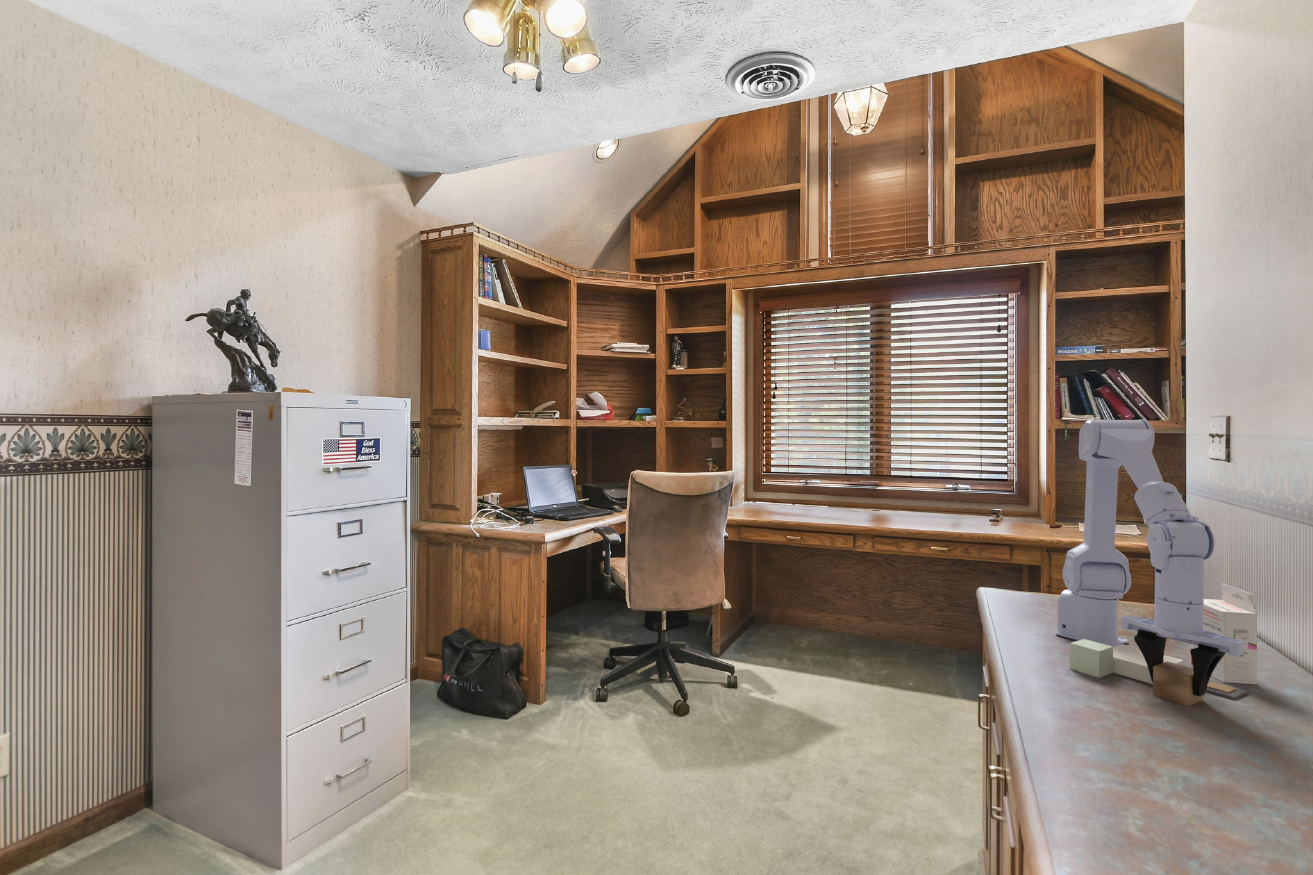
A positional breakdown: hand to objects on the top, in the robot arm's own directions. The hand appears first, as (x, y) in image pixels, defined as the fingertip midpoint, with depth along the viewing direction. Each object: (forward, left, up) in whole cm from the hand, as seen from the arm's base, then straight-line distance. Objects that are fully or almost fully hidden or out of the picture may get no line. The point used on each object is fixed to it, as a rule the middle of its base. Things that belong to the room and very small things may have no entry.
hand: (1177, 687), depth 94 cm
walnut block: (0, 0, -2) cm, 2 cm away
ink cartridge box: (-1, +18, -2) cm, 18 cm away
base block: (-8, +7, -2) cm, 11 cm away
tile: (+2, +9, -1) cm, 9 cm away
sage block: (-12, 0, -2) cm, 12 cm away
